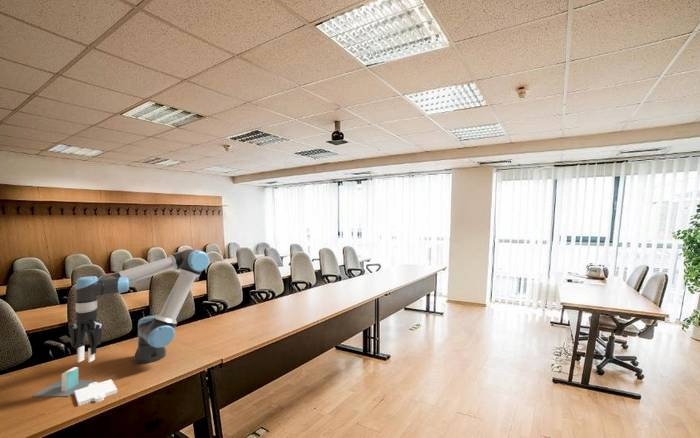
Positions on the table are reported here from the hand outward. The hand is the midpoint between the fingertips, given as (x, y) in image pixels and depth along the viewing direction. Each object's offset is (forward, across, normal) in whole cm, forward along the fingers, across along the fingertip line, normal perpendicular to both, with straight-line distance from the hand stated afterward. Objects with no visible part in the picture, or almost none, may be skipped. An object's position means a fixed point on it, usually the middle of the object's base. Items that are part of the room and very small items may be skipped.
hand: (86, 360), depth 136 cm
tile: (+12, +7, 0) cm, 14 cm away
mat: (+13, +10, 0) cm, 16 cm away
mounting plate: (+13, -8, +4) cm, 16 cm away
